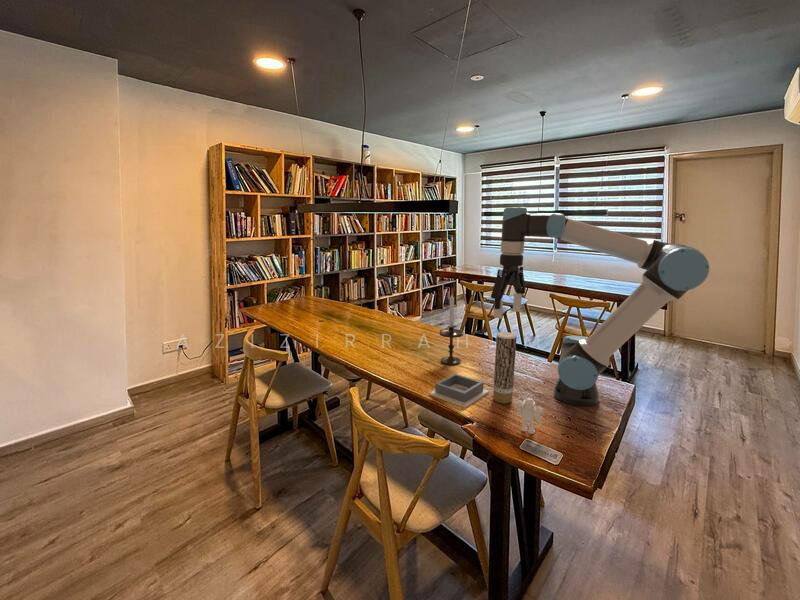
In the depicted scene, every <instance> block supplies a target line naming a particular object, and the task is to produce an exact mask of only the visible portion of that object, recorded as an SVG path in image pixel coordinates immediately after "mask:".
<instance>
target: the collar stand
mask: <svg viewBox="0 0 800 600" xmlns="http://www.w3.org/2000/svg"><path fill="white" fill-rule="evenodd" d="M484 384H485V383H484V382H483V381H481V380H478V379H475V378H471V377H468V376H464V375H461V374H458V373H453V374H452V375H450V376H448V377H446V378H443V379H442V380H439V381H437V382H436V383H435V386H434V389H433V390H431V391H429V396H432V397H434V398H437V399H440V400H443V401H446V402H448V403H450V402H451V403H450V404H454V405H456V404H457V406H458V405H459V406H460V407H461V406H463V407H462V408H464V407H465V409H467V408H468V407H469V405H470V406H471V405H473V404H474V403H475V402H478V401H479V400H480V399H482V398H484V397H486V396H487V395H488V394H489V393H490V392H489V390H487V389H486V388H485V389H484ZM486 394H487V395H486ZM472 403H473V404H472ZM467 406H468V407H467ZM466 407H467V408H466Z"/></svg>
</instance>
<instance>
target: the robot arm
mask: <svg viewBox="0 0 800 600" xmlns="http://www.w3.org/2000/svg"><path fill="white" fill-rule="evenodd" d="M501 222H502V223H501V225H502V226H501V227H502V228H501V242H500V253H501V254H500V256H499V265H500V266H502V269H500V268H499V269H497V273H496V278H495V282H494V284H493V287H492V292H491V295H490V298H491V299H493V300H494V304H493V305H494V307H493V318H494V319H500V320H502V319H503V309H504V307H503V306H504V299H503V297H504V295H505V292H506V290H507V287H508V286H509V284H512V286H513V288H514V291H515V292H514V293H513V302H512V303H513V304H512V311H513V312H518V313H521V311H522V299H523V298H522V297H523V295H525V294H526V283H525V278H524V277H525V276H524V267H523V263H524V262H523V261H524V255H523V254H524V252H525V251H524V250H525V238H526V237H529V238H530V237H532V238H533V237H534V238H537V237H539V238H551V239H553V238H555V239H557V240H561V241H564V242H568V243H571V244H574V245H577V246H580V247H584V248H587V249H590V250H593V251H597V252H599V253H603V254H605V255H609V256H612V257H616V258H618V259H621V260H624V261H628V262H630V263H633V264H636V265H637V267H638V268H639V269H643V270H645V272H644V273H643V274H642V276H641V277H642V281H641V284H640V285H638V286H637V288H635V290H633V291H632V293H630V295H629V296H628V297H627V298H626V299H625V300H623V302H622V303H621V304H620V305H619V306H618V307H616V309H615V310H614V311H613V312H612V313H611V314H609V316H608V317H607V318H606V319H605V320H604V321H603V322H602V323H601V324H600V325H598V327H597V328H596V329H595V330H594V331H593V332H592V333H591V334H590V335H589V336H584V335H581V336H580V335H566V336H564V337H563V338H562V339H563V340H562V343H561V344H562V347H561V348H562V349H561V355H560V358H559V362H558V365H557V372H558V378H557V382H556V384H555V385H554V387H553V388H554V389H553V394H554V397H555V399H558V400H559V401H561V402H562V403H565V404H569V405H572V406H577V407H579V406H580V407H590V406H594V405H597V404H598V402H599V398H600V395H599V391H598V390H599V389H598V386H597V383H596V382H597V380H598V379H599V376H600V374H601V373H602V372H604V371H605V370H606V369H607V368H608V367H609V366H610V358H611V356H612V355H614V353H616V352H617V351H618V350H619V349H620V348H621V347H622V346H623V345H624V344H625V343H626V342H627V341H629V339H631V338H632V337H633V336H634V335H635V334H636V333H637V331H639V330H640V329H641V328H642V327H643V326H644V325H645V324H646V323H647V322H648V321H649V320H651V318H653V316H655V314H657V313H658V311H660V309H662V308H663V307H664V306H665V305H666V304H667V303H668V302H671V301H679V300H680V298H682V297H683V296H684V295H685V294H686V293H687V292H688V291H690V290H694V289H696V288H697V287H699V286H701V285H702V284H703V283H704V282H705V281H706V279H707V278H708V276H709V272H710V264H709V260H708V259H707V257H706V256H705V254H704V253H702V252H701V251H700V250H698V249H697V248H694V247H693V246H687V245H684V244H679V243H678V244H677V243H668V242H664V241H659V240H656V239H649V240H648V241H646V240H644V239H640V238H637V237H633V236H630V235H627V234H623V233H619V232H616V231H613V230H610V229H606V228H603V227H599V226H597V225H596V226H595V225H592V224H589V223H586V222H582V221H579V220H576V219H573V218H568V217H566V216H565V214H563V213H557V212H554V213H553V212H551V213H550V212H549V213H541V212H540V213H530V212H528V210H527V207H525V206H520V207H519V206H508V207H505V208H504V209H503V214H502V221H501Z"/></svg>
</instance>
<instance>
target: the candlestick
mask: <svg viewBox="0 0 800 600" xmlns="http://www.w3.org/2000/svg"><path fill="white" fill-rule="evenodd" d="M453 288H454V287H451V293H450V294H451V296H450V297H449V325H447V328H443V329H441V330H439V336H441V337H443V338H449V345H448V346H447V347H448V349H449V350H448V353H449V356H444V357H442V358H440V362H441V364H443V365H446V366H458V365H460V364H461V363H462V361H461V359H460V358H459V357H455V356H453V354H454V353H455V352H454V348H455V345H454V344H453V343H454V342H453V341H454V339H456V338H460V337H463V336H464V331H463V330H461V329H457V328H456V327H457V326H456V325H454V324H455V322H454V320H455V319H454V318H455V297H454V289H453ZM453 338H454V339H453Z"/></svg>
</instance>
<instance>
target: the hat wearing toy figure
mask: <svg viewBox="0 0 800 600" xmlns="http://www.w3.org/2000/svg"><path fill="white" fill-rule="evenodd" d="M519 397H520V398H522V399H523V402H522V399H519V400H516V402H515V403H514V406H515V408H516V409H517V413H516V416H517V417H522V425H521V429H520V430H521V431H522V432H527V433H528V434H530V435H534V434H535V433H536V431H535V422H534V421H535V420H536V422H537V423H538V424H539V425H542V423H543V420H542V419H541V418H540V417H539V416H540V415H542V416H544V415H545V413H544V409H543V407H542V406H541V405H539V406H536V401H534V399H533V398H531V397H527V396H526V395H523V394H521V393H520V394H519ZM534 418H535V419H534ZM528 424H529V426H528Z"/></svg>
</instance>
